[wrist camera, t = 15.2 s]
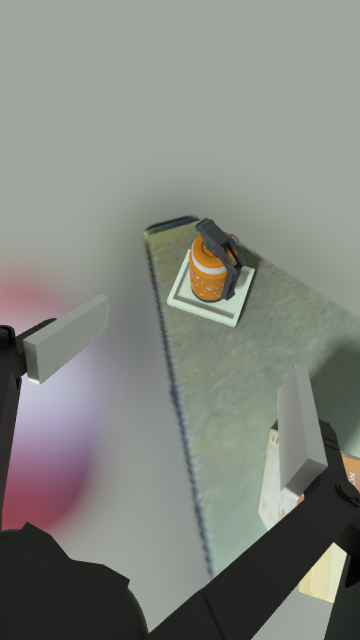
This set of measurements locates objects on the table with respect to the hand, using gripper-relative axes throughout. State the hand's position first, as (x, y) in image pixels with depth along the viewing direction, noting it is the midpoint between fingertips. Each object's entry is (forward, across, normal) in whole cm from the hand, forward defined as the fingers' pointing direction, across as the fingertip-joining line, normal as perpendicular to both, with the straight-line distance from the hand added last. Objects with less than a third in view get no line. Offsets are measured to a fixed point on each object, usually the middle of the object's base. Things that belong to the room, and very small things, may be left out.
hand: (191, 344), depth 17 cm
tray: (+41, -4, -12) cm, 43 cm away
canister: (+41, -3, -12) cm, 42 cm away
